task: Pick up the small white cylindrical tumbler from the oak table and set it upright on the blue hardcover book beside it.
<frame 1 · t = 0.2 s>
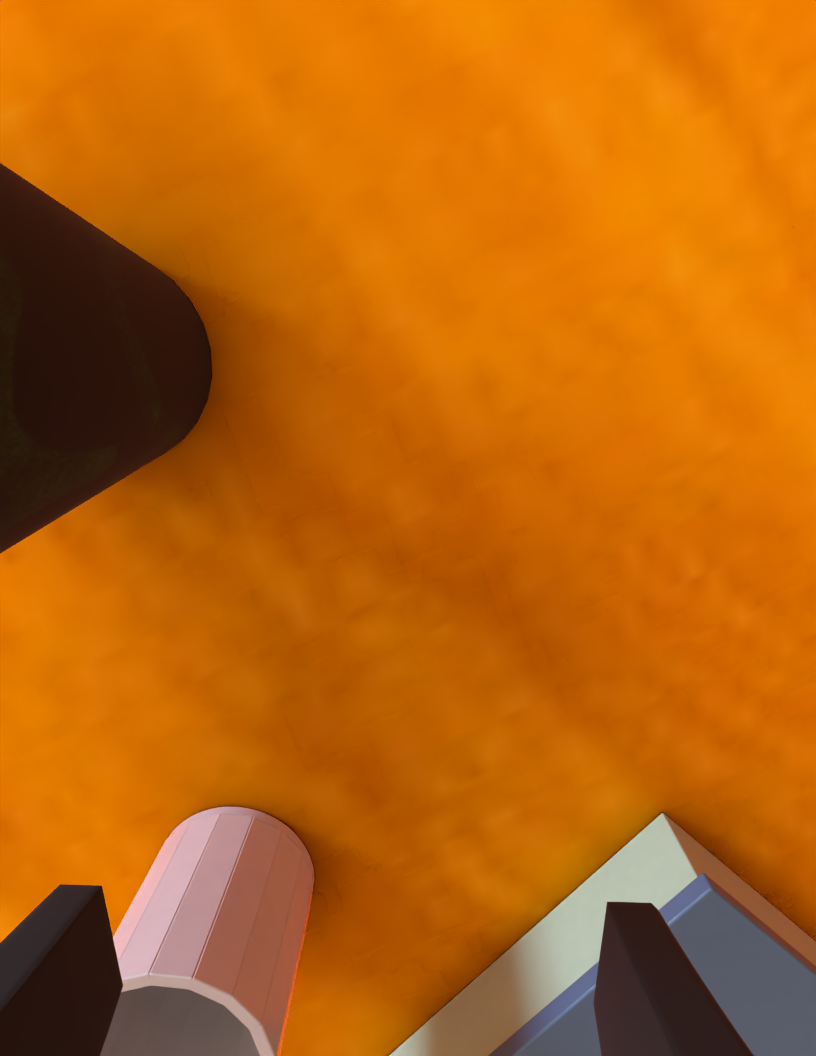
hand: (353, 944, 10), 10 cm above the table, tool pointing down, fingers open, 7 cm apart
white cylindrical tumbler: (236, 874, 21), on the table
blue hardcover book: (624, 1041, 23), on the table
cup: (111, 361, 18), on the table
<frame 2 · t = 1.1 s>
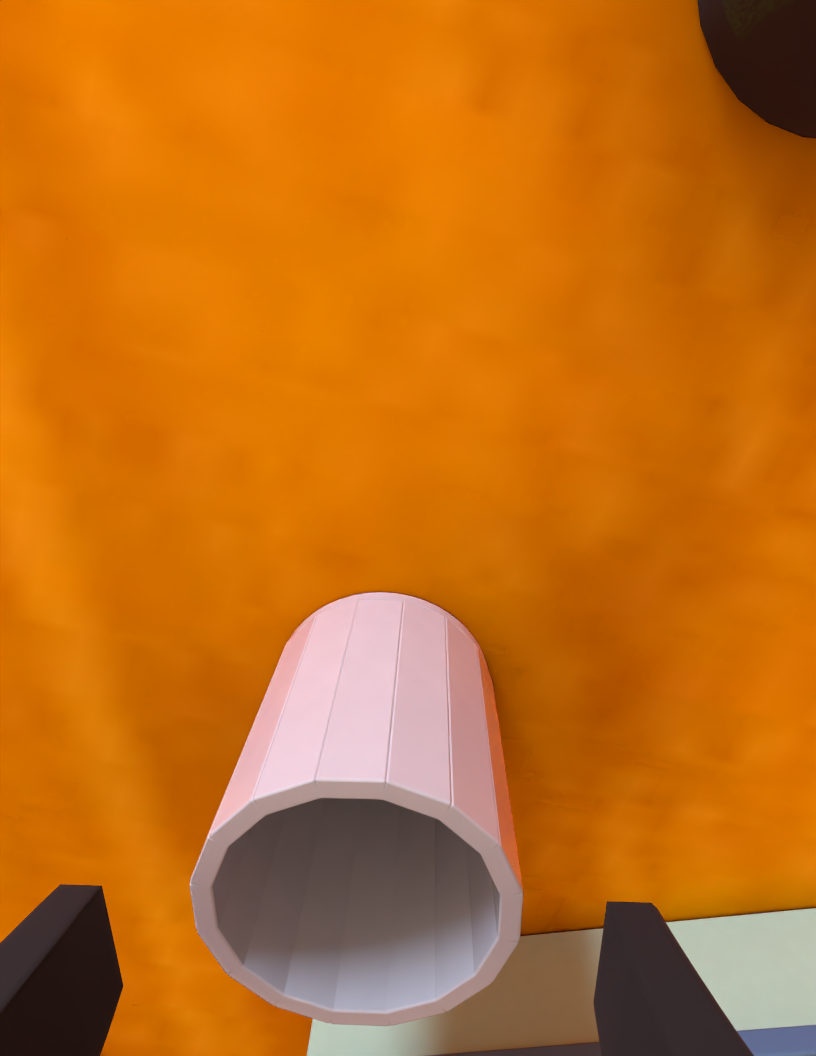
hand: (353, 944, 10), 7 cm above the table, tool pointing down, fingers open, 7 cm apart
white cylindrical tumbler: (383, 687, 16), on the table
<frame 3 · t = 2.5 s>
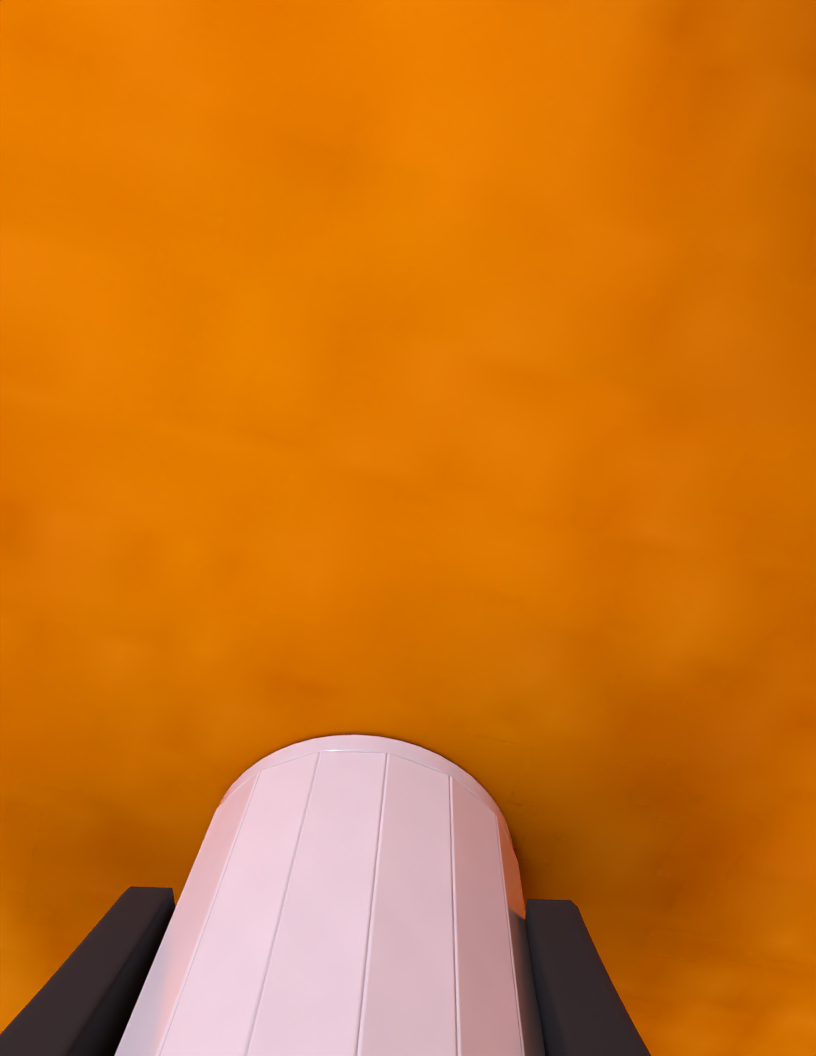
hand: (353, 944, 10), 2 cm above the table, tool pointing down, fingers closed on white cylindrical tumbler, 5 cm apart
white cylindrical tumbler: (361, 859, 11), on the table, touching gripper
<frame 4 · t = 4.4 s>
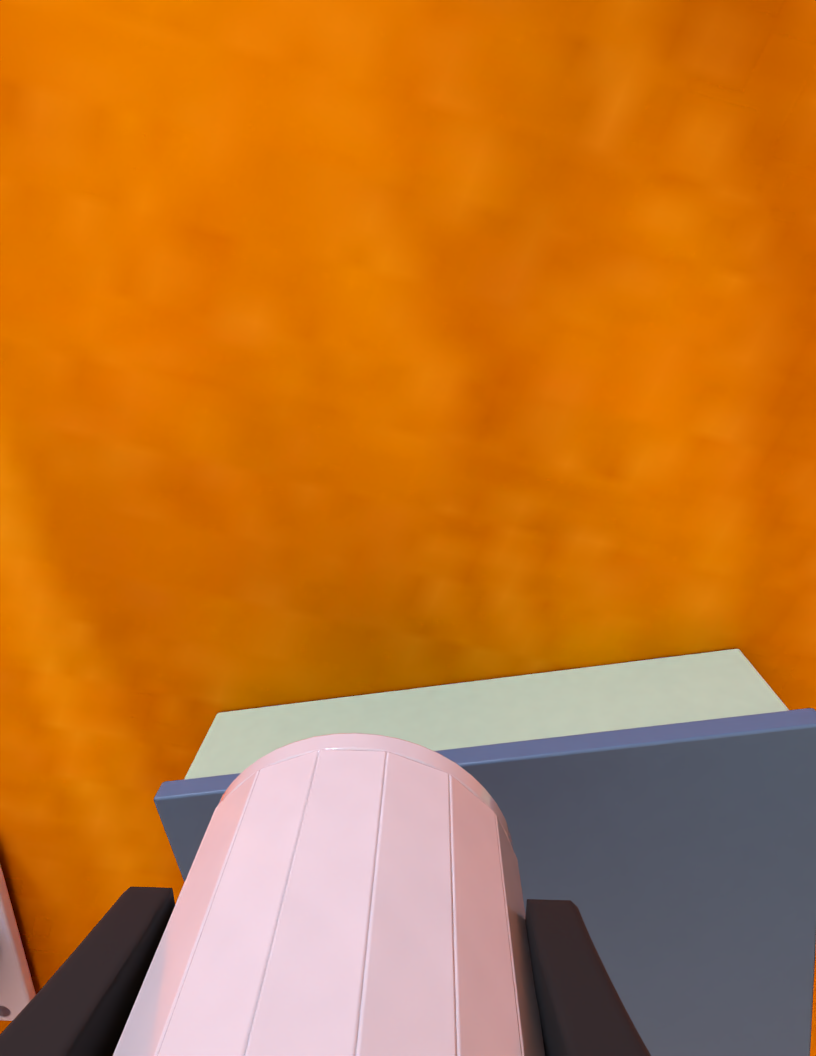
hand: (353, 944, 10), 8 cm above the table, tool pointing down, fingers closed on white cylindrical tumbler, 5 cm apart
white cylindrical tumbler: (360, 857, 11), point 7 cm above the table, touching gripper
blue hardcover book: (494, 839, 20), on the table
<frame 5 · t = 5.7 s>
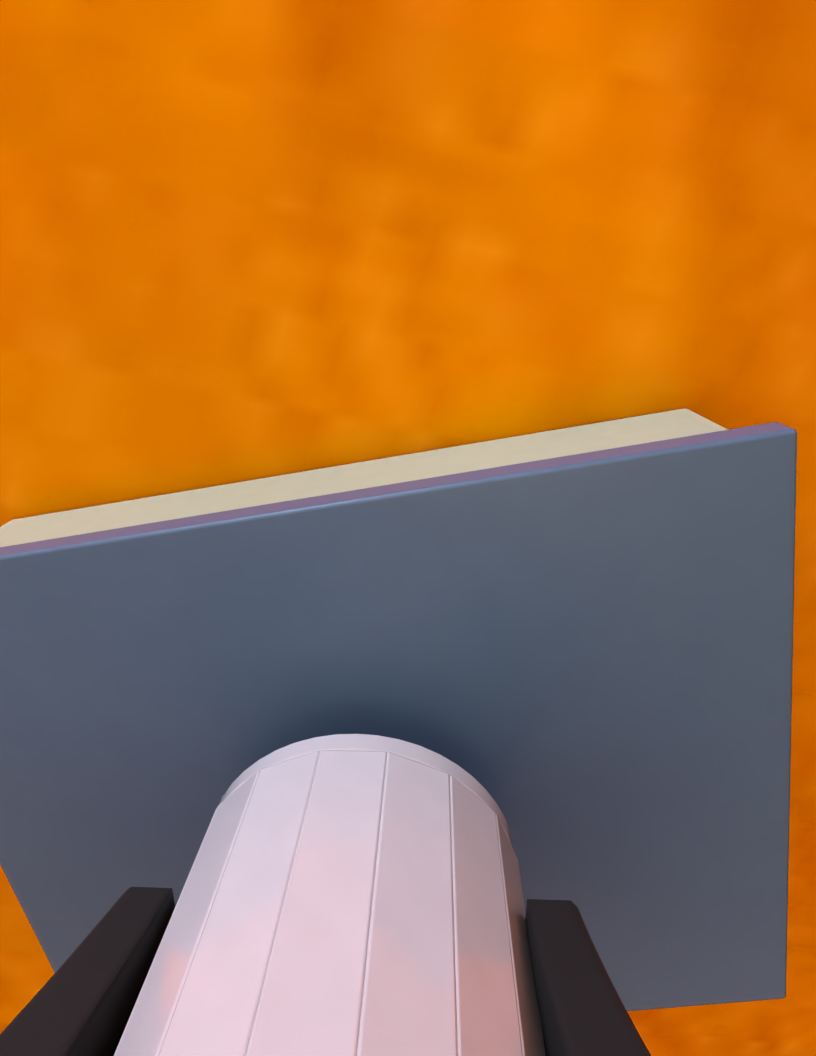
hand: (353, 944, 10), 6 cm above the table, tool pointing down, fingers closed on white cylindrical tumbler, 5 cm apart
white cylindrical tumbler: (361, 858, 11), point 5 cm above the table, touching gripper
blue hardcover book: (383, 695, 15), on the table
when the fingers open (5 cm above the table, at t = 6.6 s): white cylindrical tumbler stays where it is, resting on blue hardcover book.
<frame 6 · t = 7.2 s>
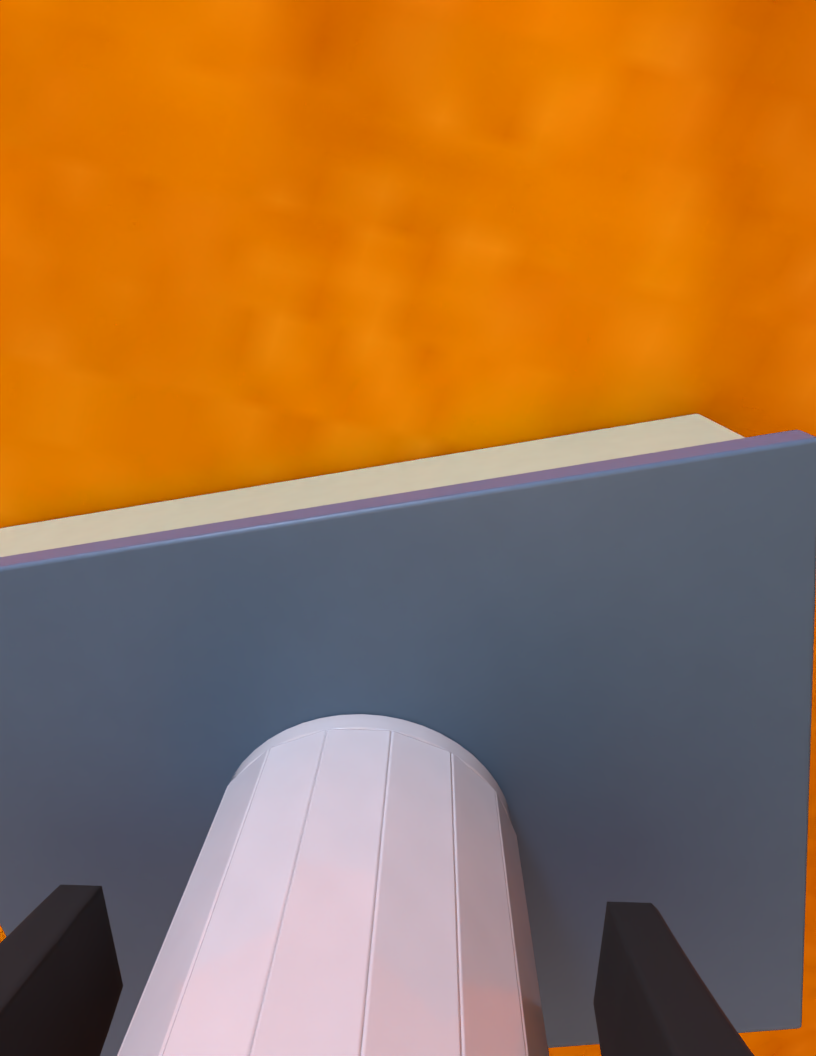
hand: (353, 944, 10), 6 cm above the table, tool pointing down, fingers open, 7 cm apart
white cylindrical tumbler: (365, 835, 11), point 4 cm above the table, touching blue hardcover book
blue hardcover book: (382, 709, 15), on the table, touching white cylindrical tumbler
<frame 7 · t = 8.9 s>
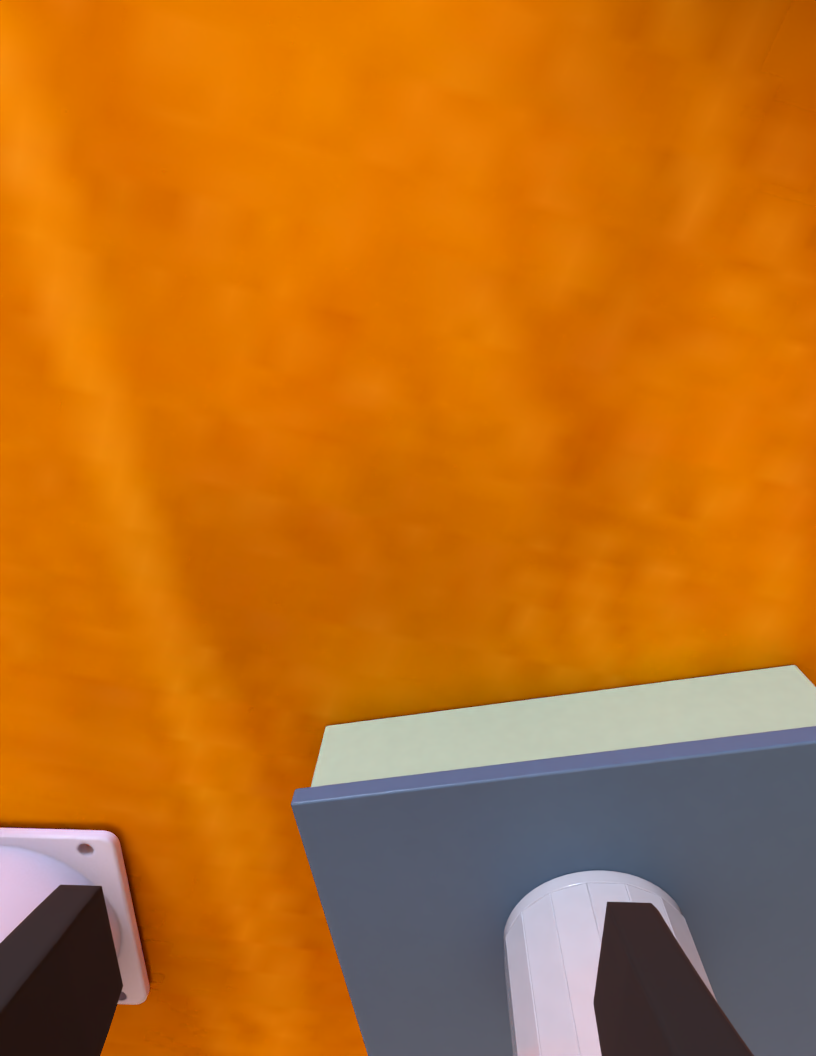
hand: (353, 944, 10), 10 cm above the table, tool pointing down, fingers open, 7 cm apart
white cylindrical tumbler: (593, 937, 19), point 4 cm above the table, touching blue hardcover book
blue hardcover book: (570, 836, 22), on the table, touching white cylindrical tumbler
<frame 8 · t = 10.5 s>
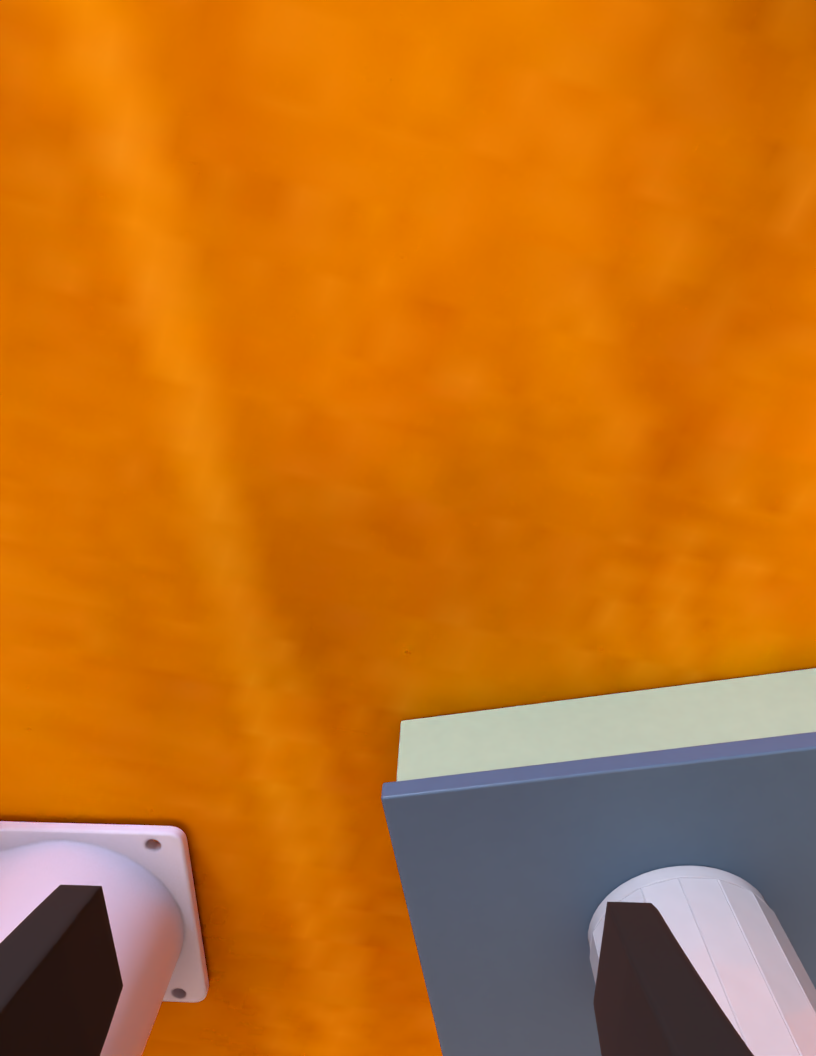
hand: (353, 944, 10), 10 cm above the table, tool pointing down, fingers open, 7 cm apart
white cylindrical tumbler: (678, 933, 18), point 4 cm above the table, touching blue hardcover book
blue hardcover book: (641, 833, 22), on the table, touching white cylindrical tumbler
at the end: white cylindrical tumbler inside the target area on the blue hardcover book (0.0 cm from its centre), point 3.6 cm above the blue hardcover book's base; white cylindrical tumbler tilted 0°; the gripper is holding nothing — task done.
